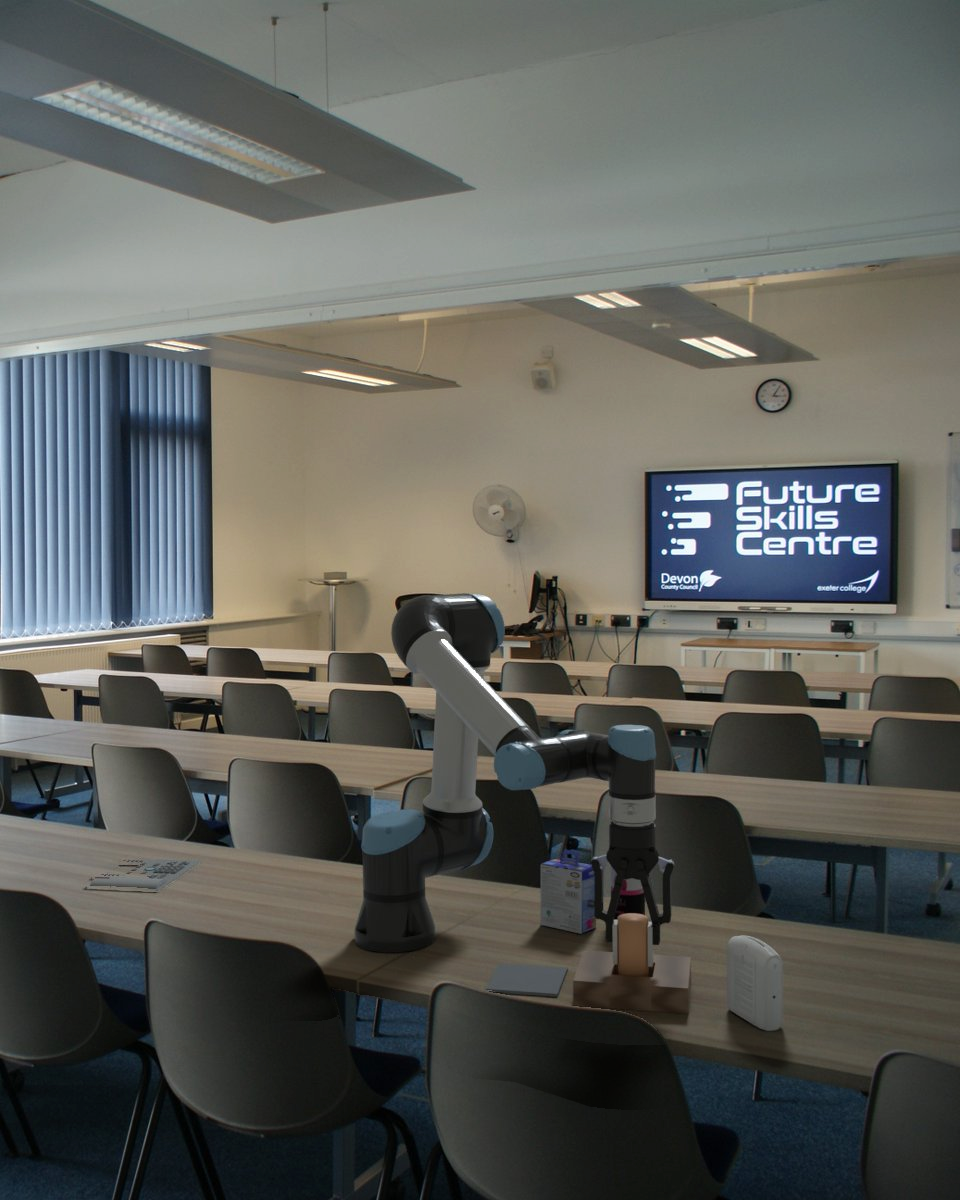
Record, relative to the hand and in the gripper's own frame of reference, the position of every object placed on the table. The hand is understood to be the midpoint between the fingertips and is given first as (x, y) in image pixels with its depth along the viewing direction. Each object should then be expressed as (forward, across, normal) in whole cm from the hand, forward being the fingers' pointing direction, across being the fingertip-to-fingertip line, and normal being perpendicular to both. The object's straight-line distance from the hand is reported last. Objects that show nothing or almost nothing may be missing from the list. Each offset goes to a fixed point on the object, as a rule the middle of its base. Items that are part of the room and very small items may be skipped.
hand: (633, 962), depth 185 cm
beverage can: (+5, -4, +36) cm, 37 cm away
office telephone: (+6, -116, +49) cm, 126 cm away
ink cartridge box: (+5, -15, +31) cm, 35 cm away
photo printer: (+5, +19, -7) cm, 21 cm away
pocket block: (+5, 0, 0) cm, 5 cm away
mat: (+5, -18, +2) cm, 19 cm away
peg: (+5, 0, 0) cm, 5 cm away
